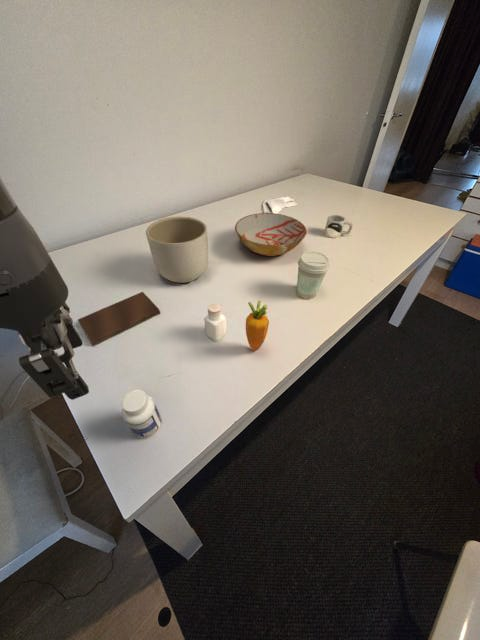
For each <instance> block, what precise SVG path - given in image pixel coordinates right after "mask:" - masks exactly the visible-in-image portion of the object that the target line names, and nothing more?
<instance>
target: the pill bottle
mask: <svg viewBox="0 0 480 640" xmlns="http://www.w3.org/2000/svg"><path fill="white" fill-rule="evenodd" d="M121 407H122V409H121V416H122V418H123V419H124V421H125V423H126V424H127V426H128V427H129V429H130V430H131V432H133V434H134V435H135V436H136V437H137V438H138V439H149V438H151V437H153V436H155V435H156V434H157V433H158V432H159V430H160V429H161V426H162V416H161V414H160V412H159V409H158V407H157V405H156V403H155V400H154V399H153V397H151V395H149V394H147V393H146V392H145V391H143V390H142V389H132V390H129V391H128V392H127V393H126V394H125V395H124V396H123V397H122V399H121Z"/></svg>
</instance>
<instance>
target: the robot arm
mask: <svg viewBox="0 0 480 640" xmlns="http://www.w3.org/2000/svg"><path fill="white" fill-rule="evenodd" d="M16 203H17V202H16V201H15V199H14V198H13V195H12V194H11V192H10V190H9V189H8V186H7V185H6V184H5V182H4V180H3V179H2V177H1V176H0V329H3V330H11V331H16V332H17V335H18V337H19V339H20V341H21V343H22V345H24V346H25V347H26V348H27V350H28V352H29V354H26V355H22V356H19V358H18V360H19V361H18V362H19V366H20V367H21V368H22V370H24V372H25V373H26V374H27V375H28V376H29V377H30V378H31V379H32V380H33V381H34V382H35V384H36V385H37V386H38V387H39V388H40V389H41V390H42V391H43V393H45V395H47V396H48V398H50V399H52V398H54V397H57V396H59V395H61V394H64V395H65V396H66V397H67V398H68V399H69V400H72V401H74V400H76V399H79V398H81V397H83V396H86V395H88V394H89V393H90V388H89V385H88V384H87V383H86V382H85V380H84V379H83V378H82V376H81V375H80V374H79V372H78V370H77V369H76V367H75V364H74V362H73V358H74V357H75V351H74V349H77V348H80V347H82V346H83V344H84V343H83V339H82V337H81V336H80V334H79V332H78V331H77V329H76V328H75V326H74V325H73V324H74V323H73V322H74V320H73V318H72V317H71V315H70V312H71V311H70V310H71V308H70V306H69V305H68V304H67V300H68V297H69V287H68V285H67V284H66V281H65V280H64V279H63V277H62V275H61V273H60V272H59V270H58V268H57V266H56V265H55V263H54V260H53V259H52V257H51V255H50V254H49V252H48V251H47V248H46V247H45V246H44V244H43V242H42V239H41V238H40V237H39V235H38V233H37V231H36V230H35V228H34V227H33V226H32V224H31V223H30V221H29V220H28V219H27V218H26V216H25V214H23V212H22V211H21V209H20V208H19V207H18V204H16ZM61 348H63V350H64V351H63V353H61V354H58V352H56V350H59V349H61Z"/></svg>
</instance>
